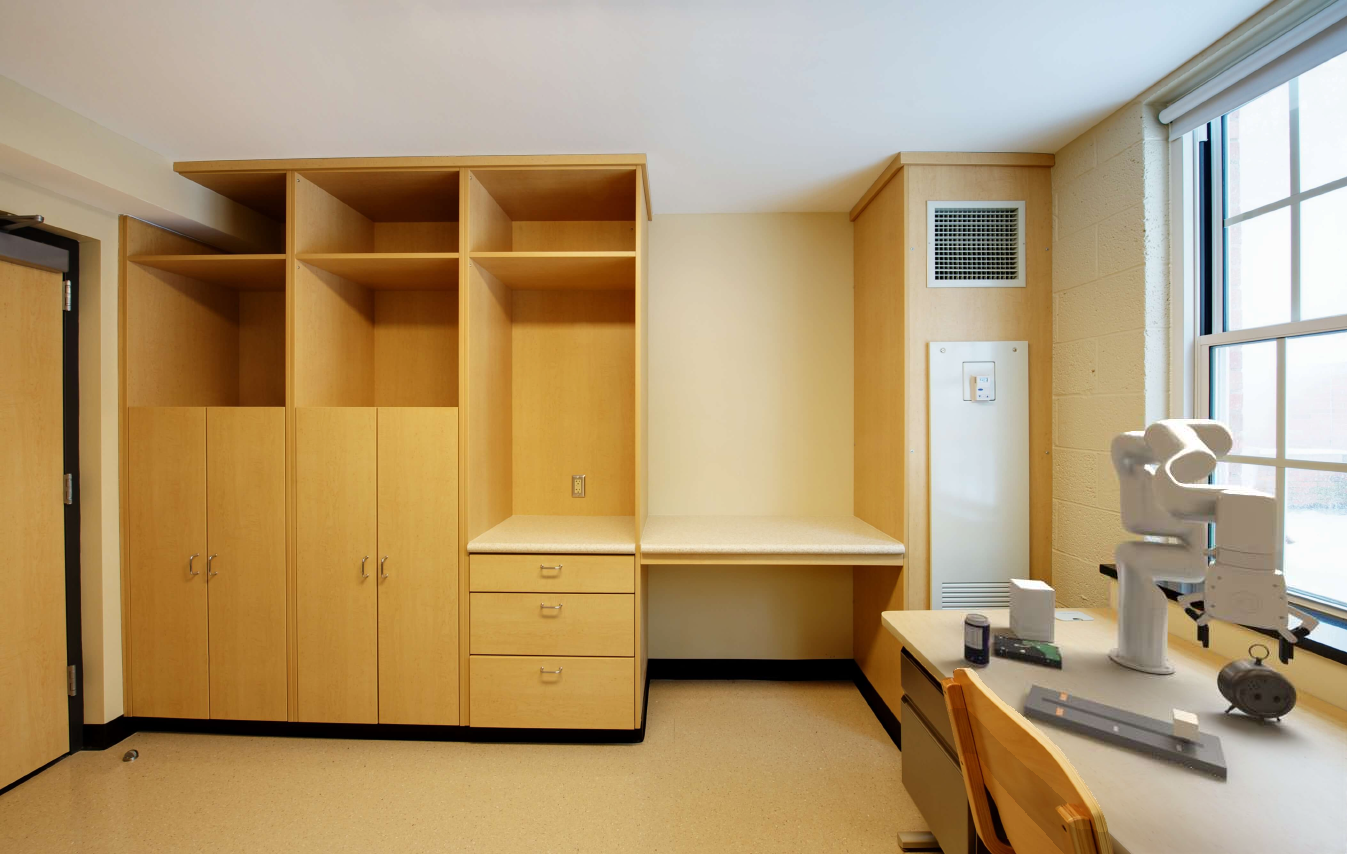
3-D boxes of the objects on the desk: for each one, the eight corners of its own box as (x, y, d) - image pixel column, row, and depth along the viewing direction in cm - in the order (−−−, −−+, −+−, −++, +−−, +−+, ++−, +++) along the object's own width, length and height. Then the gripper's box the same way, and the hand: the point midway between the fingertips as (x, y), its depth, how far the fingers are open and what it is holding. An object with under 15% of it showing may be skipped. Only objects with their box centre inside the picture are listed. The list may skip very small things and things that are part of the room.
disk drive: (994, 658, 140) (1063, 671, 132) (994, 648, 140) (1063, 660, 132) (993, 643, 149) (1058, 655, 141) (993, 634, 148) (1058, 644, 141)
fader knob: (1172, 730, 103) (1173, 708, 103) (1195, 736, 101) (1196, 714, 100) (1174, 740, 99) (1174, 718, 99) (1197, 747, 97) (1198, 724, 97)
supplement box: (1055, 643, 147) (1056, 590, 147) (1019, 639, 150) (1019, 587, 149) (1042, 630, 156) (1043, 580, 156) (1008, 627, 158) (1009, 578, 158)
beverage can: (993, 669, 132) (993, 622, 132) (968, 667, 134) (968, 620, 133) (984, 658, 138) (984, 613, 138) (960, 657, 139) (961, 612, 139)
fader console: (1032, 692, 121) (1032, 684, 121) (1218, 747, 101) (1218, 736, 101) (1023, 715, 112) (1023, 705, 112) (1226, 779, 92) (1226, 768, 92)
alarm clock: (1281, 718, 111) (1283, 642, 110) (1301, 732, 106) (1303, 653, 105) (1214, 708, 114) (1216, 635, 114) (1231, 722, 109) (1233, 645, 109)
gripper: (1179, 555, 98) (1177, 646, 98) (1325, 573, 86) (1323, 676, 86) (1177, 547, 103) (1175, 634, 103) (1313, 564, 92) (1312, 661, 92)
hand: (1242, 653), depth 95 cm, fingers open, 9 cm apart
